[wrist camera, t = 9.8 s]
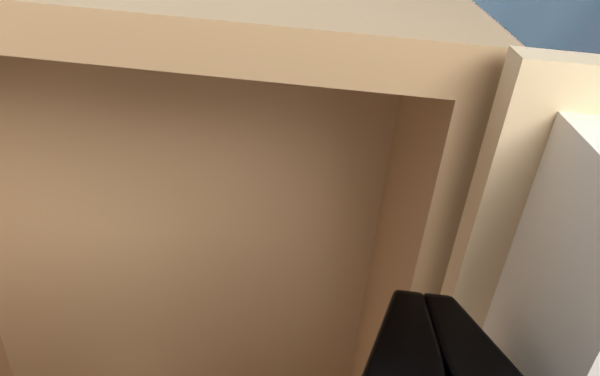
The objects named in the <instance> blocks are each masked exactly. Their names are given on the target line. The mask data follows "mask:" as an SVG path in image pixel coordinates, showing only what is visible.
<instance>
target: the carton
mask: <svg viewBox="0 0 600 376" xmlns="http://www.w3.org/2000/svg"><path fill="white" fill-rule="evenodd" d="M509 45H511V46H521V47H525V46H524V45H523V44H522V43H521V42H520V41H518V40H517V39H516V38H515V37H514V36H513V35H512V34H510V33H509V32H508V31H507V30H506V29H505V28H503V27H502V26H501V25H500V24H499V23H498V22H496V21H495V20H494V19H493V18H492V17H491V16H490V15H488V14H487V13H486V12H485V11H484V10H483V9H481V8H480V7H479V6H478V5H477V4H476V3H475V2H473V1H472V0H0V376H362V373H363V370H364V368H365V365H366V362H367V360H368V357H369V355H370V352H371V349H372V347H373V344H374V341H375V339H376V336H377V334H378V331H379V328H380V326H381V323H382V320H383V318H384V315H385V313H386V310H387V307H388V305H389V302H390V299H391V297H392V294H393V292H394V291H395V290H406V291H415V292H420V293H422V294H425V293H433V294H440V293H441V289H442V285H443V282H444V278H445V275H446V271H447V267H448V264H449V260H450V257H451V253H452V249H453V246H454V242H455V239H456V235H457V231H458V228H459V224H460V221H461V217H462V213H463V210H464V206H465V203H466V199H467V195H468V192H469V188H470V185H471V181H472V177H473V174H474V170H475V167H476V163H477V160H478V156H479V152H480V149H481V145H482V142H483V138H484V134H485V131H486V127H487V124H488V120H489V116H490V113H491V109H492V106H493V102H494V98H495V95H496V91H497V88H498V84H499V80H500V77H501V73H502V70H503V66H504V62H505V59H506V55H507V52H508V48H509Z"/></svg>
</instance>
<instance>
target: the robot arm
mask: <svg viewBox="0 0 600 376" xmlns="http://www.w3.org/2000/svg"><path fill="white" fill-rule="evenodd" d="M362 376H524V375H523V374H522V373H521V372H520V371H519V370H518V368H517V367H516V366H515V365H514V364H513V363H512V362H511V361H510V360H509V358H508V357H507V356H506V355H505V354H504V353H503V352H502V351H501V350H500V348H499V347H498V346H497V345H496V344H495V343H494V342H493V341H492V340H491V338H490V337H489V336H488V335H487V334H486V333H485V332H484V331H483V330H482V328H481V327H480V326H479V325H478V324H477V323H476V322H475V321H474V319H473V318H472V317H471V316H470V315H469V314H468V313H467V312H466V311H465V309H464V308H463V307H462V306H461V305H460V304H459V303H458V302H457V301H456V300H455V299H454V298H453V297H451V296H449V295H441V294H433V293H425V294H422V293H420V292H415V291H406V290H395V291H394V292H393V294H392V297H391V299H390V302H389V305H388V307H387V310H386V313H385V315H384V318H383V320H382V323H381V326H380V328H379V331H378V334H377V336H376V339H375V341H374V344H373V347H372V349H371V352H370V355H369V357H368V360H367V362H366V365H365V368H364V370H363V373H362Z"/></svg>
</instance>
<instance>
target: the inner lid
mask: <svg viewBox="0 0 600 376" xmlns="http://www.w3.org/2000/svg"><path fill="white" fill-rule="evenodd" d="M440 294H441V295H449V296H451V297H453V298H454V299H455V300H456V301H457V302H458V303H459V304H460V305H461V306H462V307H463V308H464V309H465V311H466V312H467V313H468V314H469V315H470V316H471V317H472V318H473V319H474V321H475V322H476V323H477V324H478V325H479V326H480V327H481V328H482V330H483V331H484V332H485V333H486V334H487V335H488V336H489V337H490V338H491V340H492V341H493V342H494V343H495V344H496V345H497V346H498V347H499V348H500V350H501V351H502V352H503V353H504V354H505V355H506V356H507V357H508V358H509V360H510V361H511V362H512V363H513V364H514V365H515V366H516V367H517V368H518V370H519V371H520V372H521V373H522V374H523V375H524V376H600V54H595V53H584V52H574V51H563V50H553V49H542V48H532V47H521V46H511V45H509V48H508V52H507V55H506V59H505V62H504V66H503V70H502V73H501V77H500V80H499V84H498V88H497V91H496V95H495V98H494V102H493V106H492V109H491V113H490V116H489V120H488V124H487V127H486V131H485V134H484V138H483V142H482V145H481V149H480V152H479V156H478V160H477V163H476V167H475V170H474V174H473V177H472V181H471V185H470V188H469V192H468V195H467V199H466V203H465V206H464V210H463V213H462V217H461V221H460V224H459V228H458V231H457V235H456V239H455V242H454V246H453V249H452V253H451V257H450V260H449V264H448V267H447V271H446V275H445V278H444V282H443V285H442V289H441V293H440Z"/></svg>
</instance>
